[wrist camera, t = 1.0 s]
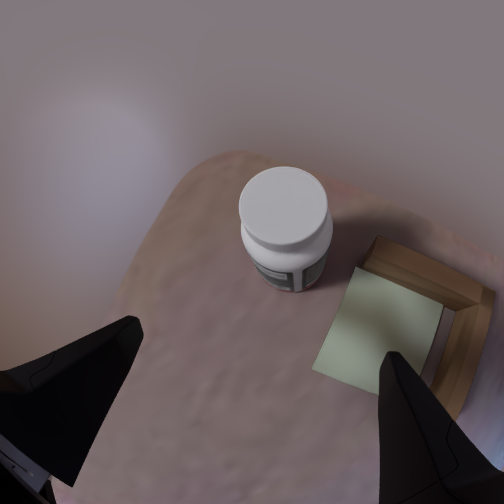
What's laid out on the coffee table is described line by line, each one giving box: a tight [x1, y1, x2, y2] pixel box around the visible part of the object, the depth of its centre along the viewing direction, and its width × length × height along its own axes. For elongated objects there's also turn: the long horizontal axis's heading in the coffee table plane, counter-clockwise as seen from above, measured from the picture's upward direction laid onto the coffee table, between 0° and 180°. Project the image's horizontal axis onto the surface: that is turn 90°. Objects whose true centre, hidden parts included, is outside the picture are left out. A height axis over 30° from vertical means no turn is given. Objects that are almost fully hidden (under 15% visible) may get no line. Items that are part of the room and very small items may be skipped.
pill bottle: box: [239, 167, 333, 292], centre depth 19 cm, size 6×6×10 cm
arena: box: [311, 235, 496, 422], centre depth 17 cm, size 12×12×4 cm
